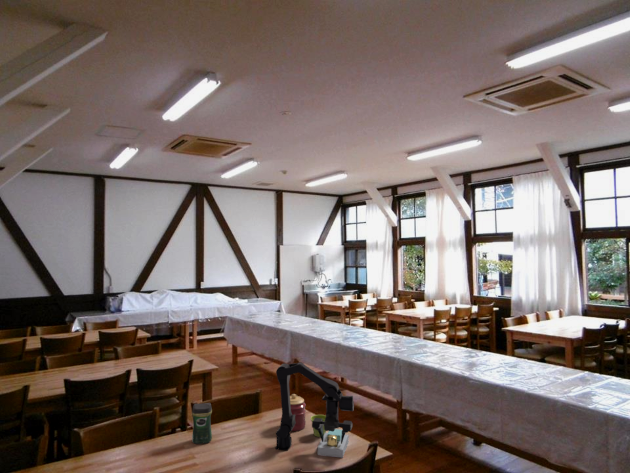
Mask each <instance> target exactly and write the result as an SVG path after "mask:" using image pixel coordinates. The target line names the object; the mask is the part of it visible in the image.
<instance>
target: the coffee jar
mask: <svg viewBox="0 0 630 473" xmlns="http://www.w3.org/2000/svg"><path fill="white" fill-rule="evenodd" d="M212 413H213V409H212V404H211V402H206V403H205V402H204V403H194V404H193V406H192V413H191V414H192V417H193V420H192V421H193V424H192V425H193V426H192V433H191V434H192V435H191V437H192V438H191V442H192V444H195V445H201V444H202V443H203V444H209V443H210V442H211V441H212V439H213V433H212V432H213V431H212V425H211V424H212V423H211V415H212Z"/></svg>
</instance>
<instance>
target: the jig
mask: <svg viewBox="0 0 630 473" xmlns="http://www.w3.org/2000/svg"><path fill="white" fill-rule="evenodd" d="M327 434H328V432H326V433H325V434H324V439H323V442H322V440H321V439H320V442H319V444H318V445H317V455H318V456H322V457H323V456H324V457H333V458H343V459H344V456H345V453H346V450H347V448H348V445H349V439H350V438H349V434H345V436H344V439H343V442H342V444H341V440H340V441H339V440H337V447H330V446H327Z"/></svg>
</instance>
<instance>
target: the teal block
mask: <svg viewBox="0 0 630 473" xmlns="http://www.w3.org/2000/svg"><path fill="white" fill-rule="evenodd" d="M342 430H343V429H340V428H336V429H335V430H334V431H333V432H332V431H328V432H327V433H328V434H327V437H328V435H335V436H337V440H339V441H340V440H341V436H342Z"/></svg>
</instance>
